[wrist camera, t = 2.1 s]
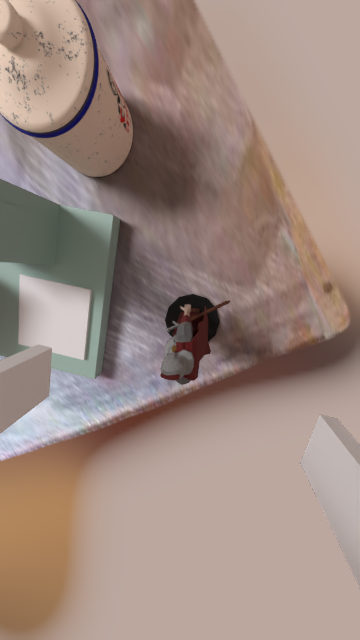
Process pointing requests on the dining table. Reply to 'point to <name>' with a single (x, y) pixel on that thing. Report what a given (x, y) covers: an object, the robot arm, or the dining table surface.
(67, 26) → the teacup with lid
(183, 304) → the figurine
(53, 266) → the press
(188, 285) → the dining table surface
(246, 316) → the dining table surface
